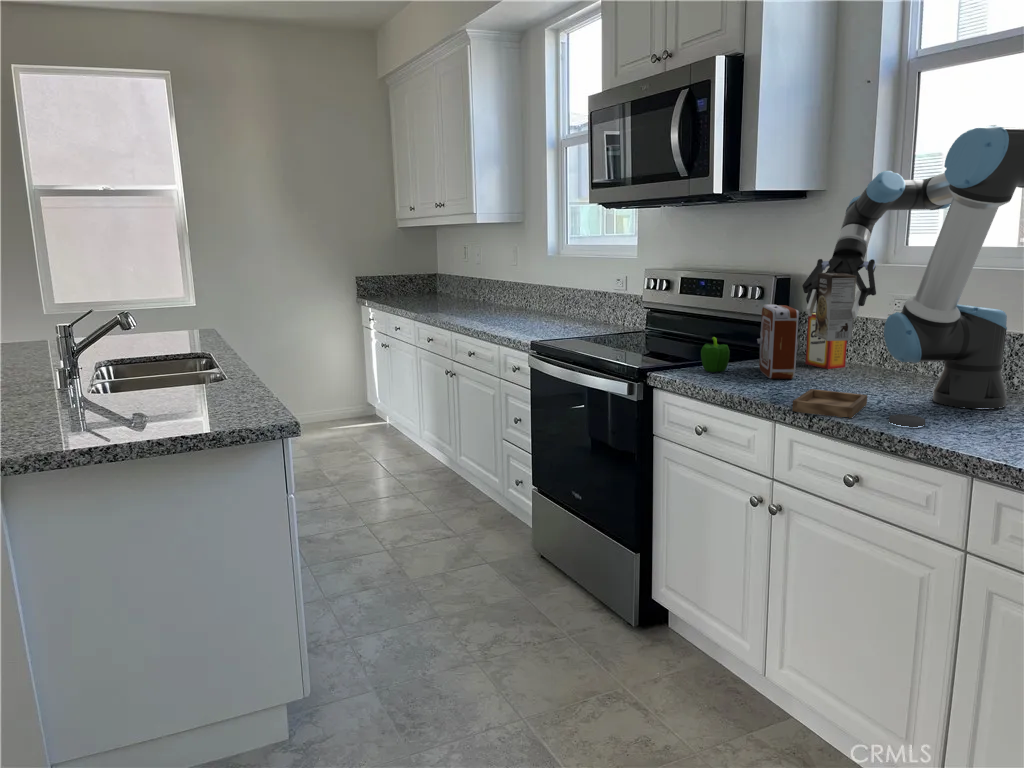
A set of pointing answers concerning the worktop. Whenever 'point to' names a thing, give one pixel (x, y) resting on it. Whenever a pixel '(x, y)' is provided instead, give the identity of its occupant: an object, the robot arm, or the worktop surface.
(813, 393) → the tray
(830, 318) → the coffee box
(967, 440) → the worktop surface
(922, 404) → the worktop surface
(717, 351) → the bell pepper
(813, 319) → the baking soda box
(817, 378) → the worktop surface
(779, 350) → the vintage travel case
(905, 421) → the lens cap
